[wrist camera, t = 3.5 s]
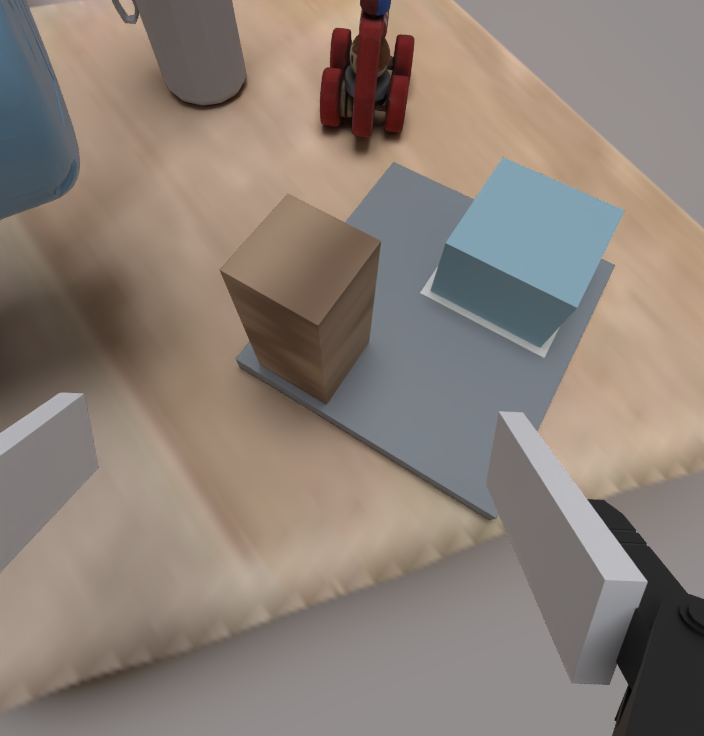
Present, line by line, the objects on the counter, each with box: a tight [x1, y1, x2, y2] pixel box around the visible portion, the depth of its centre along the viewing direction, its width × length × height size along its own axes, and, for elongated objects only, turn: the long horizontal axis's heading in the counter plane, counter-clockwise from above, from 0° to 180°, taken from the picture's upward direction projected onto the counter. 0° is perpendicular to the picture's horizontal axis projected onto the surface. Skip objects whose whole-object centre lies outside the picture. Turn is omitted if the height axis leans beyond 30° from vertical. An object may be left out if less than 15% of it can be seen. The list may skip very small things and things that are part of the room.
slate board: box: [236, 162, 615, 520], centre depth 31 cm, size 18×20×1 cm
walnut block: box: [220, 194, 381, 405], centre depth 24 cm, size 5×5×10 cm
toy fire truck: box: [320, 0, 414, 138], centre depth 35 cm, size 7×12×10 cm, turn 173°
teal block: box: [430, 157, 624, 348], centre depth 29 cm, size 8×8×5 cm
